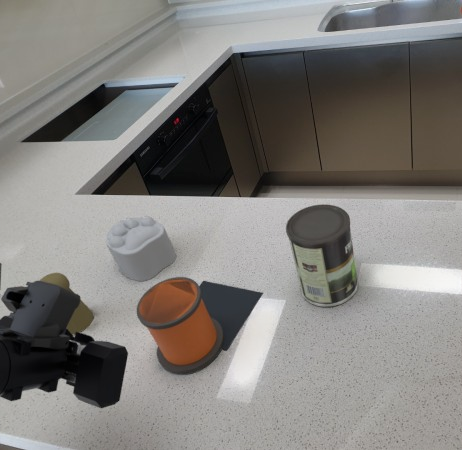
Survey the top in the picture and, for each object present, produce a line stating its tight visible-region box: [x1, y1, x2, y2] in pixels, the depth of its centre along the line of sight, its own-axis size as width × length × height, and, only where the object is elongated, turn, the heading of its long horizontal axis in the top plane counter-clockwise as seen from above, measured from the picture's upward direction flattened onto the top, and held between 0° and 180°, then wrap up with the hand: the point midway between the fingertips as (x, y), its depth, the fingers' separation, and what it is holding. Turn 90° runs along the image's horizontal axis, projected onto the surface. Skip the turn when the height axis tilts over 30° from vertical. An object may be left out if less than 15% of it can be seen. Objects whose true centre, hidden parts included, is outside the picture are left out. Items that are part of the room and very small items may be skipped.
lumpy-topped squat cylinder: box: [105, 215, 177, 282], centre depth 94 cm, size 10×13×9 cm
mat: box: [199, 280, 264, 351], centre depth 81 cm, size 13×13×1 cm
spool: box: [136, 276, 224, 375], centre depth 72 cm, size 11×11×11 cm
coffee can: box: [285, 204, 359, 308], centre depth 77 cm, size 10×10×14 cm
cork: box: [38, 272, 95, 336], centre depth 81 cm, size 6×6×11 cm
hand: (112, 348), depth 60 cm, fingers closed
